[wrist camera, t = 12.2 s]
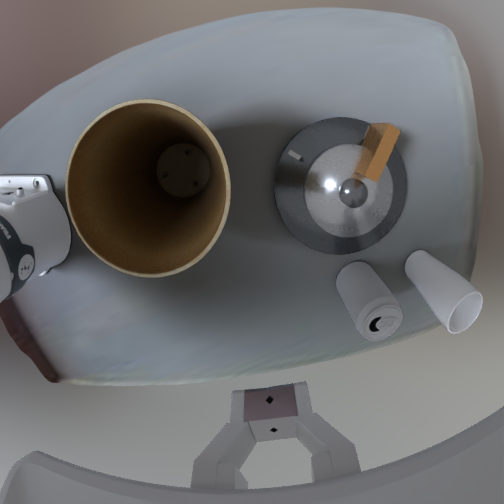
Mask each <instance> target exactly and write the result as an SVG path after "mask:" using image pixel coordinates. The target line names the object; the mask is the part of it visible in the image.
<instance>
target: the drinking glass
mask: <svg viewBox="0 0 504 504" xmlns="http://www.w3.org/2000/svg"><path fill="white" fill-rule="evenodd" d="M405 274H406V276H407V277H408V278H409V279H410V280H411V281H412V283H413V284H414V285H415V287H416V288H417V290H418V291H419V292H420V294H421V295H422V297H423V298H424V300H425V301H426V303H427V304H428V306H429V307H430V309H431V310H432V312H433V313H434V314H435V316H436V317H437V318H438V320H439V321H440V322H441V323H442V324H443V325H444V327H445V328H446V329H447V330H448V331H449V332H450V333H452V334H457V333H461V332H463V331H464V330H466V329H467V328H468V327H470V325H472V324H473V322H474V321H475V320H476V318H477V317H478V315H479V313H480V311H481V308H482V305H483V297H482V294H481V293H480V292H479V291H478V290H477V289H476V288H475V287H474V286H473V285H472V284H471V283H470V282H469V281H468V280H466V279H465V278H464V277H463V276H461V275H460V274H458V273H457V272H455V271H454V270H452V269H451V268H449V267H448V266H446V265H445V264H443V263H442V262H440V261H439V260H437V259H435V258H434V257H432V256H431V255H430V254H429V253H427V252H426V251H423V250H418V251H415V252H413V253H412V254H411V255H410V256H409V257H408V258H407V260H406V263H405Z"/></svg>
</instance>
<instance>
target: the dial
mask: <svg viewBox="0 0 504 504" xmlns="http://www.w3.org/2000/svg"><path fill="white" fill-rule="evenodd" d="M399 134H400V130H398V129H397V128H395V127H394V126H393V125H391V124H390V123H372V124H371V125H370V128H369V130H368V132H367V134H366V137H365V139H364V141H363V143H362V145H361V146H359V145H354V144H338V145H334V146H331V147H329V148H327V149H325V150H323V151H322V152H320V153H319V154H318V155H317V156H316V157H315V158H314V159H313V160H312V162H311V163H310V164H309V166H308V168H307V170H306V173H305V176H304V180H303V199H304V202H305V205H306V208H307V210H308V212H309V213H310V215H311V216H312V218H313V219H314V220H315V222H316V223H317V224H318V225H319V226H320V227H321V228H322V229H324V230H325V231H327V232H328V233H330V234H333V235H335V236H340V237H356V236H360V235H363V234H365V233H367V232H369V231H371V230H372V229H374V228H375V227H376V226H377V225H378V224H379V223H380V222H381V221H382V220H383V219H384V217H385V216H386V214H387V212H388V210H389V208H390V205H391V202H392V197H393V182H392V177H391V174H390V171H389V169H388V167H387V165H386V163H387V161H388V159H389V156H390V154H391V152H392V150H393V148H394V145H395V143H396V141H397V138H398V136H399Z"/></svg>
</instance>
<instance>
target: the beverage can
mask: <svg viewBox="0 0 504 504" xmlns="http://www.w3.org/2000/svg"><path fill="white" fill-rule="evenodd" d="M336 287H337V290H338V292H339V294H340V296H341V298H342V300H343V302H344V304H345V306H346V308H347V310H348V312H349V314H350V316H351V318H352V320H353V322H354V324H355V326H356V328H357V330H358V332H359V333H360V334H361V335H363V336H364V337H365V338H366V339H367V340H370V341H380V340H383V339H386V338H388V337H389V336H391V335H392V334H393V333H394V332H395V331H396V330H397V329H398V328H399V326H400V324H401V322H402V317H403V316H402V311H401V306H400V303H399V302H398V300H397V299H396V298H395V297H394V295H393V294H392V293H391V291H390V290H389V289H388V288H387V286H386V285H385V284H384V282H383V281H382V280H381V279H380V277H379V276H378V275H377V274H376V272H375V271H374V270H373V269H372V268H371V266H370V265H368V264H367V263H365V262H353V263H350V264H348V265H346V266H345V267H344V268H343V269H342V270H341V271H340V273H339V274H338V276H337V279H336Z"/></svg>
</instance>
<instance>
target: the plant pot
mask: <svg viewBox="0 0 504 504" xmlns="http://www.w3.org/2000/svg"><path fill="white" fill-rule="evenodd" d="M187 150H188V151H189V152H188V154H186V151H187ZM165 175H167V177H165ZM195 181H196V182H197V184H195ZM65 191H66V201H67V207H68V211H69V214H70V217H71V220H72V223H73V225H74V227H75V229H76V231H77V233H78V235H79V236H80V238H81V239H82V241H83V242H84V244H85V245H86V246H87V247H88V248H89V250H90V251H91V252H92V253H93V254H94V255H96V256H97V257H98V258H99V259H100V260H102V261H103V262H105V263H106V264H107V265H109V266H111V267H112V268H114V269H116V270H118V271H121V272H123V273H126V274H129V275H133V276H138V277H146V278H157V277H165V276H170V275H173V274H176V273H179V272H181V271H184V270H186V269H188V268H189V267H191V266H193V265H194V264H195V263H197V262H198V261H199V260H200V259H202V258H203V257H204V256H205V255H206V254H207V253H208V252H209V251H210V249H211V248H212V247H213V245H214V244H215V243H216V241H217V240H218V238H219V236H220V234H221V232H222V230H223V228H224V226H225V223H226V220H227V217H228V213H229V207H230V201H231V181H230V174H229V168H228V165H227V161H226V158H225V155H224V153H223V151H222V148H221V146H220V144H219V143H218V141H217V139H216V138H215V136H214V135H213V133H212V132H211V131H210V130H209V129H208V127H207V126H206V125H205V124H204V123H203V122H202V121H201V120H200V119H199V118H197V117H196V116H195V115H193V114H192V113H191V112H189V111H187V110H186V109H184V108H182V107H180V106H178V105H175V104H173V103H170V102H166V101H162V100H155V99H139V100H132V101H127V102H124V103H121V104H118V105H116V106H114V107H112V108H110V109H108V110H106V111H105V112H103V113H102V114H101V115H99V116H98V117H97V118H96V119H94V120H93V121H92V122H91V123H90V124H89V125H88V127H87V128H86V129H85V130H84V132H83V133H82V134H81V136H80V137H79V139H78V141H77V142H76V144H75V146H74V148H73V151H72V153H71V156H70V159H69V163H68V167H67V172H66V182H65Z"/></svg>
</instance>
